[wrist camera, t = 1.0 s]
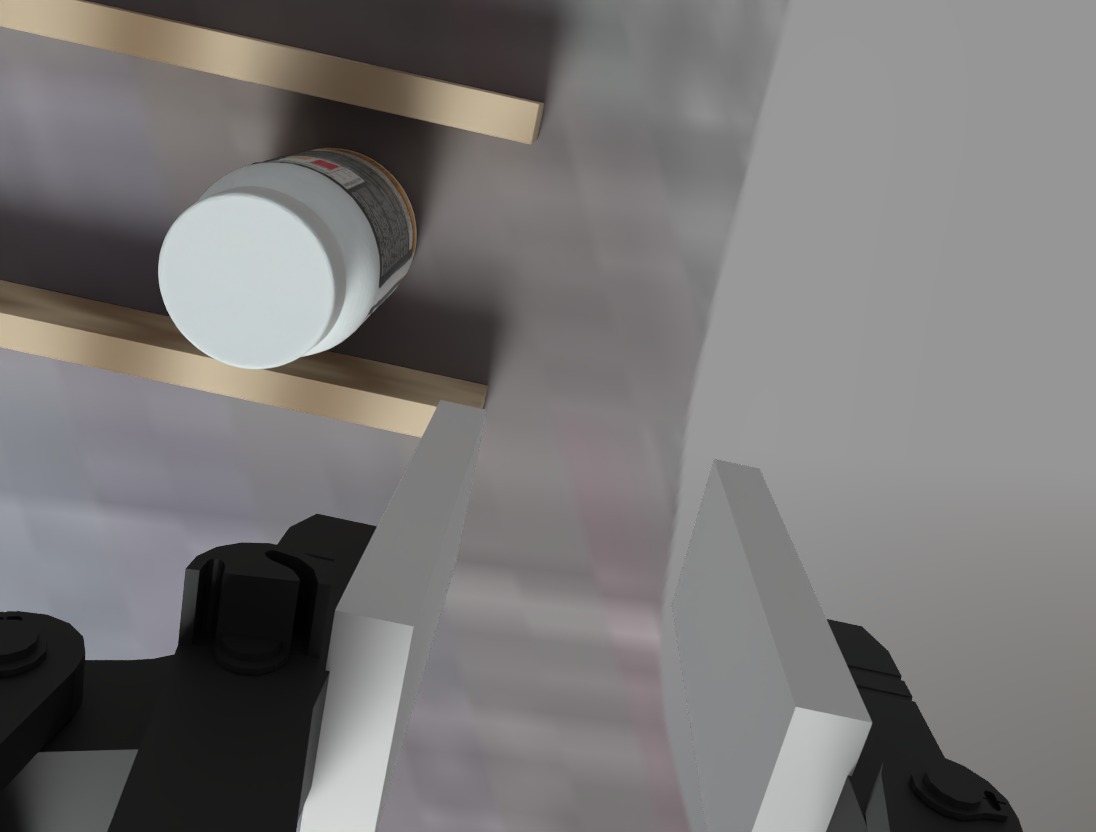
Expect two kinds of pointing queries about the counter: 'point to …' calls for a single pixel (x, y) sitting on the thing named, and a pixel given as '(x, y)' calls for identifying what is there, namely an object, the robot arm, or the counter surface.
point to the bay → (154, 340)
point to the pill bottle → (286, 256)
